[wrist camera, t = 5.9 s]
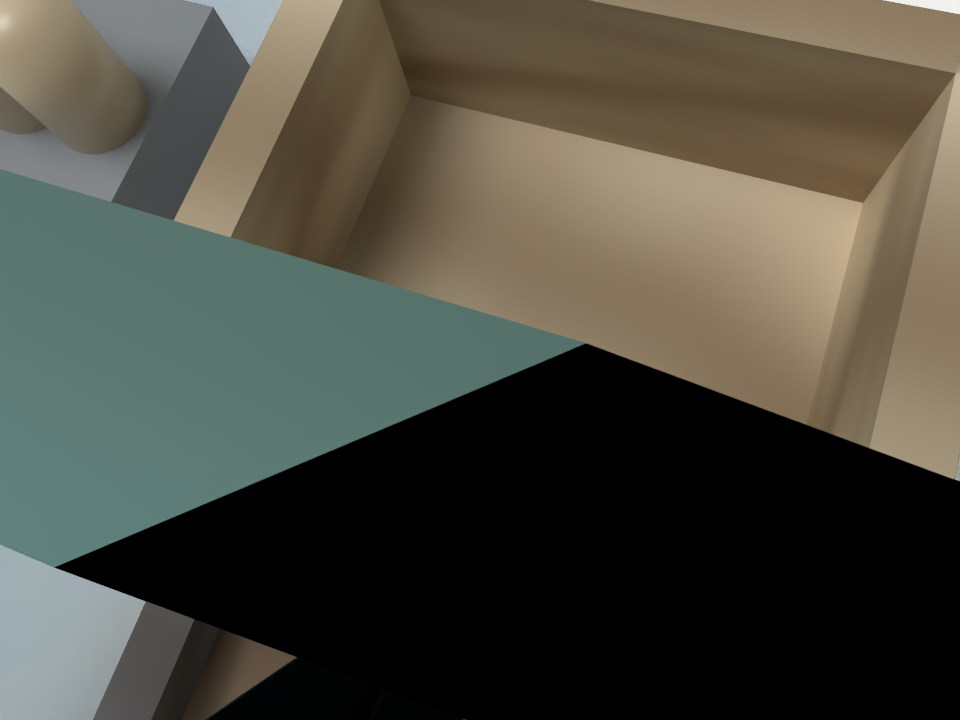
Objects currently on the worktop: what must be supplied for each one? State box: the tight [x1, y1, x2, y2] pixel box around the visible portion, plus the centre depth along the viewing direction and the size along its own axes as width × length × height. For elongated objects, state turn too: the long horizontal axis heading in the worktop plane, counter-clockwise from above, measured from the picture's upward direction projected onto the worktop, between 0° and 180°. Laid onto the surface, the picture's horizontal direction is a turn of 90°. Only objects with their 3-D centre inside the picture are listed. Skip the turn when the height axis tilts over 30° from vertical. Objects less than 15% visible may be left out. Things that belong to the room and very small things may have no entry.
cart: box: [0, 0, 960, 720], centre depth 9 cm, size 8×9×13 cm
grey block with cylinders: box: [0, 0, 250, 221], centre depth 16 cm, size 6×6×6 cm
